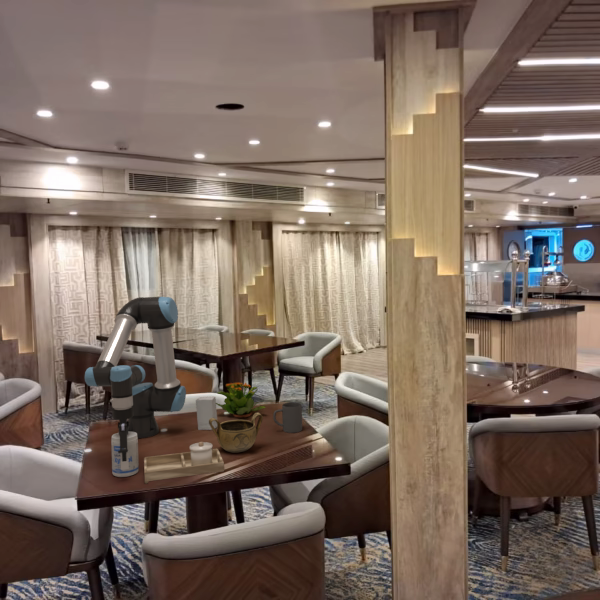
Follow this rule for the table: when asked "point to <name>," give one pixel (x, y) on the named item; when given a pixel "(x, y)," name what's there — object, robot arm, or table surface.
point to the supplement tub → (132, 455)
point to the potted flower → (239, 400)
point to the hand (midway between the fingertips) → (125, 463)
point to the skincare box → (206, 412)
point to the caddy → (179, 466)
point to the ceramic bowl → (237, 433)
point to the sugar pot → (201, 453)
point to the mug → (290, 417)
